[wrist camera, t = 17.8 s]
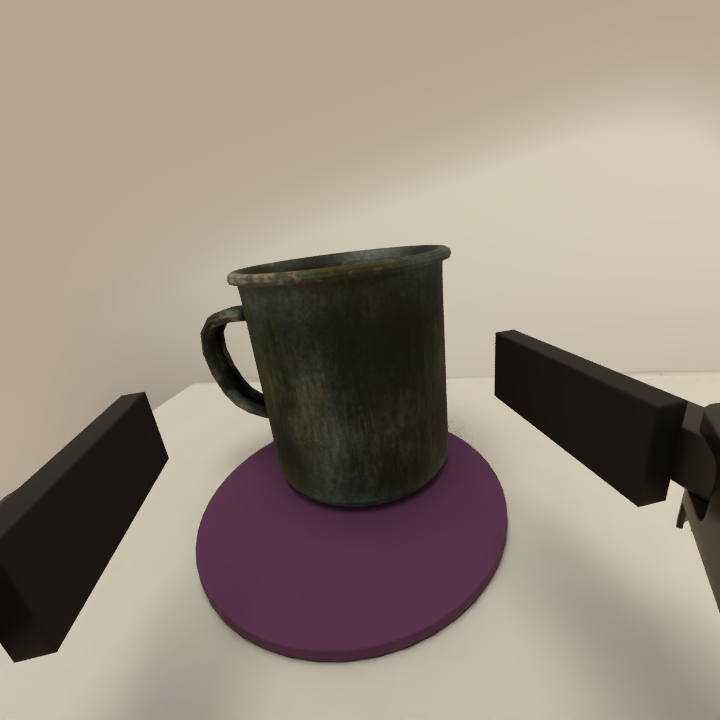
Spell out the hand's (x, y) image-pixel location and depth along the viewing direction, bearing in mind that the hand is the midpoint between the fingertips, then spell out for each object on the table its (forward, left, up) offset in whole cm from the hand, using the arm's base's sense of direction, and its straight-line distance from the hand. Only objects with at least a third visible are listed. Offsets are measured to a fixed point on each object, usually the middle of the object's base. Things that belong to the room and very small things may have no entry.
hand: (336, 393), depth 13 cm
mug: (-7, +1, -8) cm, 11 cm away
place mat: (-4, +1, -8) cm, 9 cm away
